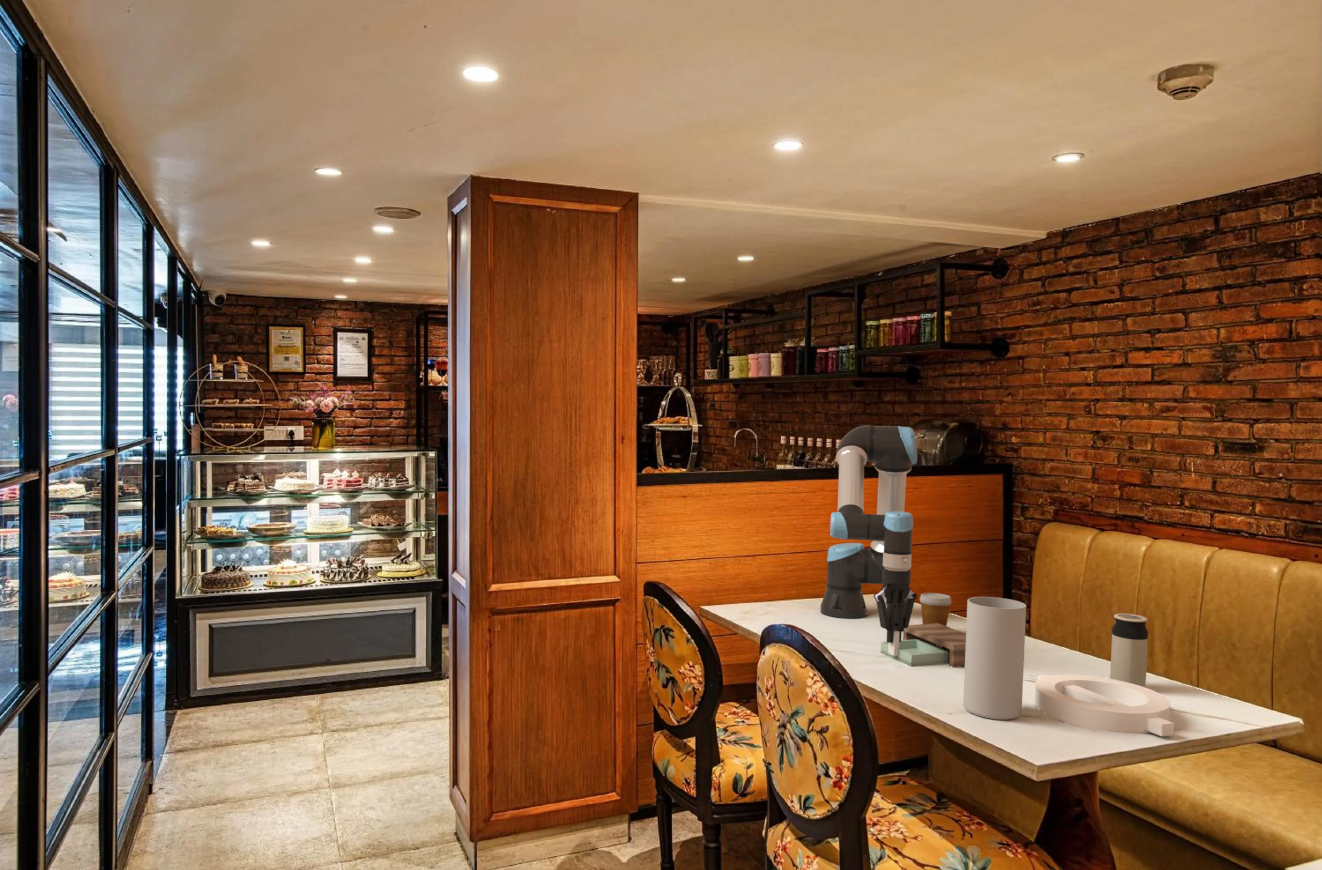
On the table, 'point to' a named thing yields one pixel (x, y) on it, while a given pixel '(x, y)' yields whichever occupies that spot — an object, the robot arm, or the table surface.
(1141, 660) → the travel mug
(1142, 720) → the ring with crossbar
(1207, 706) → the table surface
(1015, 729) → the table surface
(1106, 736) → the table surface
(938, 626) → the walnut overhang
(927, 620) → the disposable coffee cup
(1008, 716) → the cylinder vase
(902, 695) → the table surface
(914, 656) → the green tray
